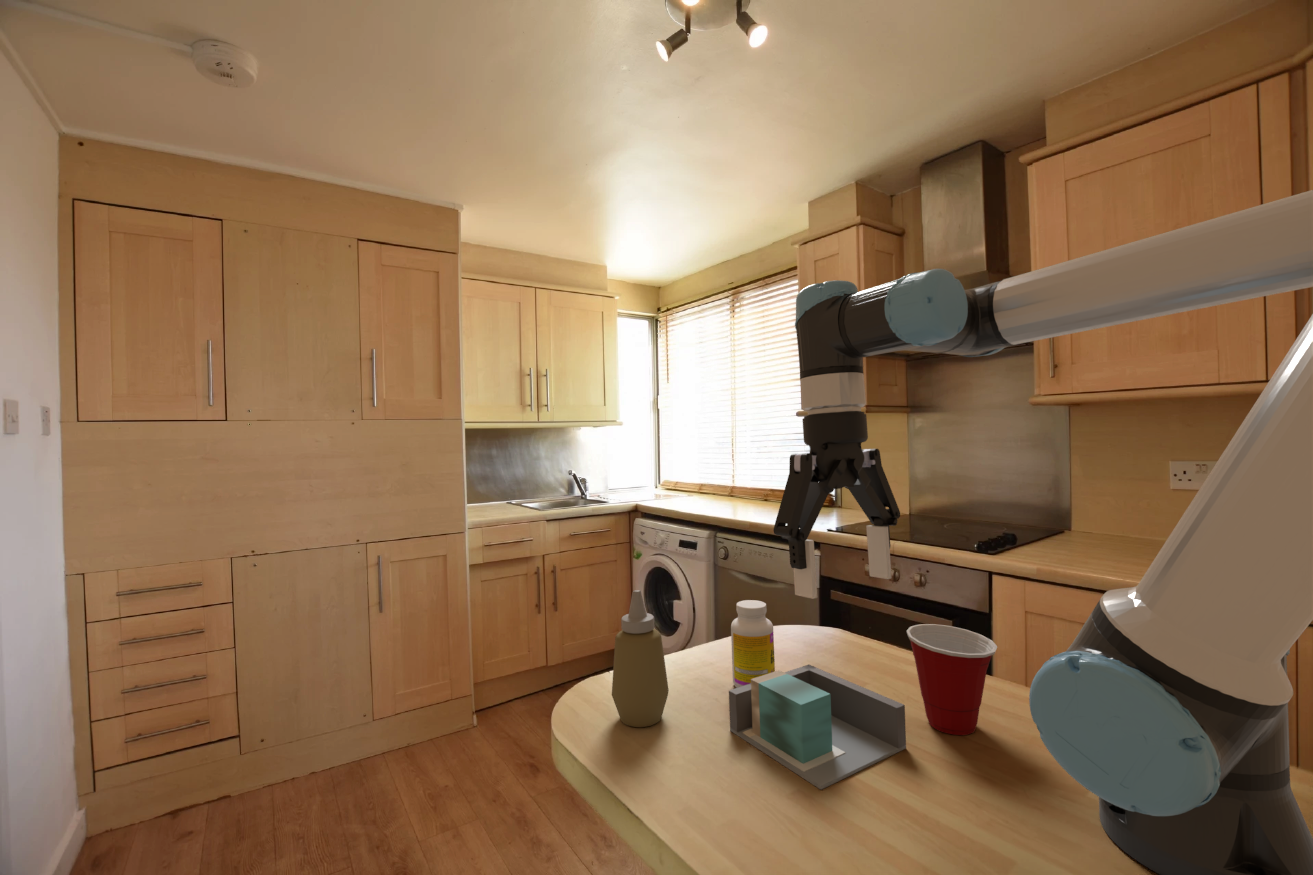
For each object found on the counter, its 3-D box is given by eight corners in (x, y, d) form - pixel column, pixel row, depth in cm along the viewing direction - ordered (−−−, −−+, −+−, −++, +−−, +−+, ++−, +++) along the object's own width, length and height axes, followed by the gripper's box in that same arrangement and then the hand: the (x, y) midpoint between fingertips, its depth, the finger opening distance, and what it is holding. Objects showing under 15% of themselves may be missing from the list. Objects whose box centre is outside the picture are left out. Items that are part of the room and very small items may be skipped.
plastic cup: (1004, 753, 71) (1001, 654, 71) (907, 736, 76) (904, 643, 76) (996, 714, 81) (993, 627, 81) (910, 701, 86) (908, 618, 86)
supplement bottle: (779, 693, 89) (776, 609, 89) (735, 695, 90) (732, 610, 90) (771, 675, 96) (768, 597, 96) (730, 677, 96) (728, 598, 96)
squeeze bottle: (638, 700, 89) (634, 581, 89) (681, 714, 84) (676, 588, 84) (600, 721, 83) (596, 593, 83) (644, 738, 78) (639, 602, 78)
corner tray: (906, 748, 73) (904, 704, 73) (820, 789, 65) (819, 741, 65) (810, 700, 87) (808, 664, 87) (730, 730, 79) (728, 690, 79)
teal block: (752, 732, 77) (750, 679, 77) (780, 721, 80) (779, 670, 80) (803, 763, 70) (801, 704, 70) (832, 750, 72) (830, 693, 72)
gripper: (872, 413, 82) (882, 566, 81) (735, 415, 68) (747, 599, 68) (922, 408, 76) (933, 574, 75) (782, 409, 62) (795, 611, 62)
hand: (845, 586), depth 71 cm, fingers open, 13 cm apart
